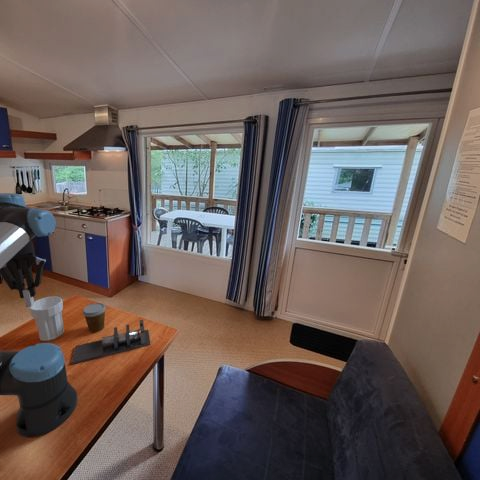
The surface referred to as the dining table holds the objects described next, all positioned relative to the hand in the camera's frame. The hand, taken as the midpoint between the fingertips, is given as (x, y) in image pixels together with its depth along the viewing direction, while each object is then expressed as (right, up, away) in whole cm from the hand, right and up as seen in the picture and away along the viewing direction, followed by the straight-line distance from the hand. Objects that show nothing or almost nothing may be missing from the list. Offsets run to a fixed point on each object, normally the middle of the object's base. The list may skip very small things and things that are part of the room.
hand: (30, 304), depth 79 cm
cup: (-14, -22, +26) cm, 37 cm away
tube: (+20, -24, +24) cm, 40 cm away
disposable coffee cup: (+3, -22, +33) cm, 39 cm away
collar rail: (+17, -26, +23) cm, 38 cm away
